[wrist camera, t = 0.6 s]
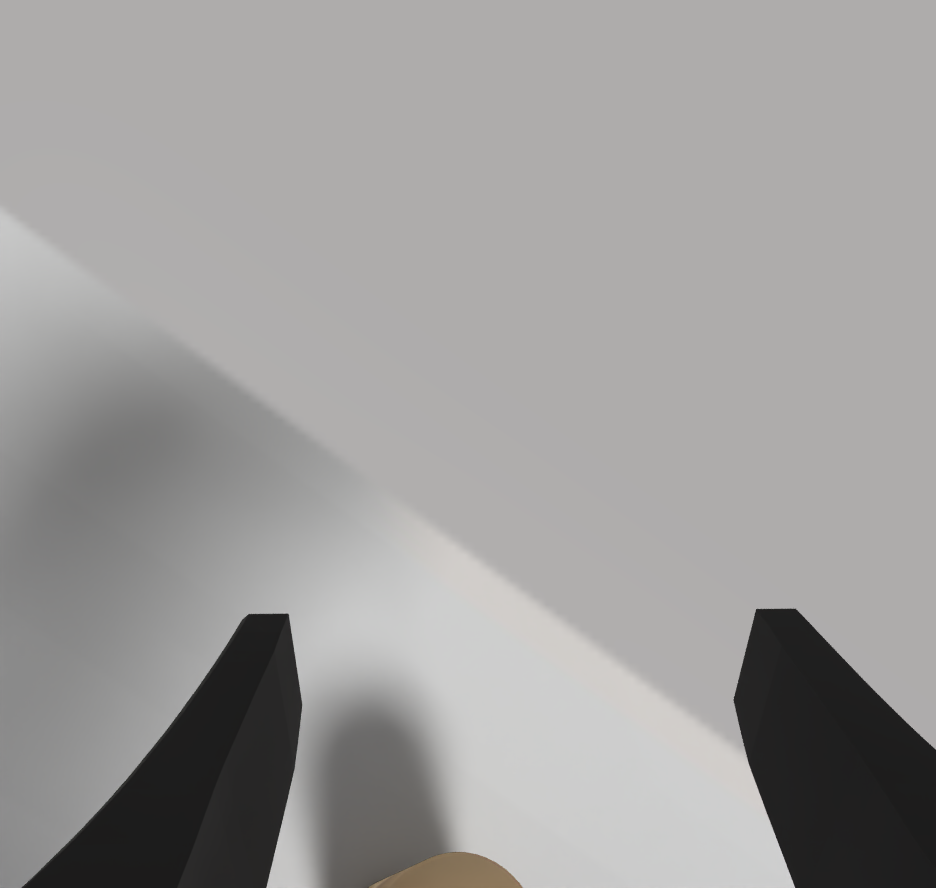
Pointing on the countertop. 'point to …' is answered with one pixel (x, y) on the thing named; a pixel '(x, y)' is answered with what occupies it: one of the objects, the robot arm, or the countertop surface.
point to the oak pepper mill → (452, 873)
